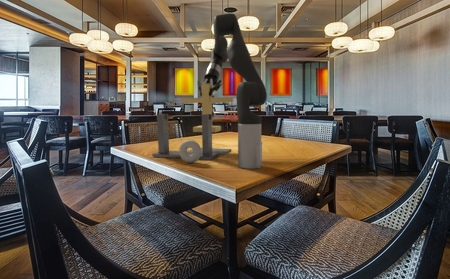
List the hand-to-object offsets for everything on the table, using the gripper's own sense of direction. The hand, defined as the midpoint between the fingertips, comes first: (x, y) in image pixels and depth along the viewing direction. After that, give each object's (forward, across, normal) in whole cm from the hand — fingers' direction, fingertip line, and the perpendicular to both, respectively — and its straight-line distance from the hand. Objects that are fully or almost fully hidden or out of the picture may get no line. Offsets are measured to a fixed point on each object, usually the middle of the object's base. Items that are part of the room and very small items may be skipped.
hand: (205, 95), depth 133 cm
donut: (+39, +2, +3) cm, 39 cm away
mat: (+20, +1, +22) cm, 30 cm away
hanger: (+12, 0, +15) cm, 19 cm away
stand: (+30, -6, +12) cm, 33 cm away
